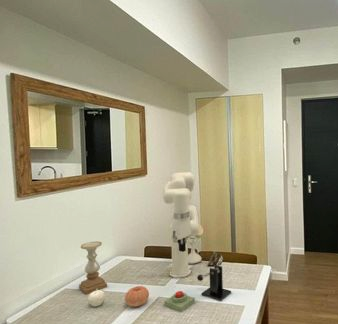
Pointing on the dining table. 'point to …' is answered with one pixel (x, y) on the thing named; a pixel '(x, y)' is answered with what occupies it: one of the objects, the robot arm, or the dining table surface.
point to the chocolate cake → (215, 259)
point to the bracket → (216, 285)
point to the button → (179, 294)
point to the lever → (200, 277)
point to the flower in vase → (194, 256)
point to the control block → (179, 302)
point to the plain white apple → (96, 297)
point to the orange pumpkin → (137, 296)
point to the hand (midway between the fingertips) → (182, 250)
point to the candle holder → (92, 270)
